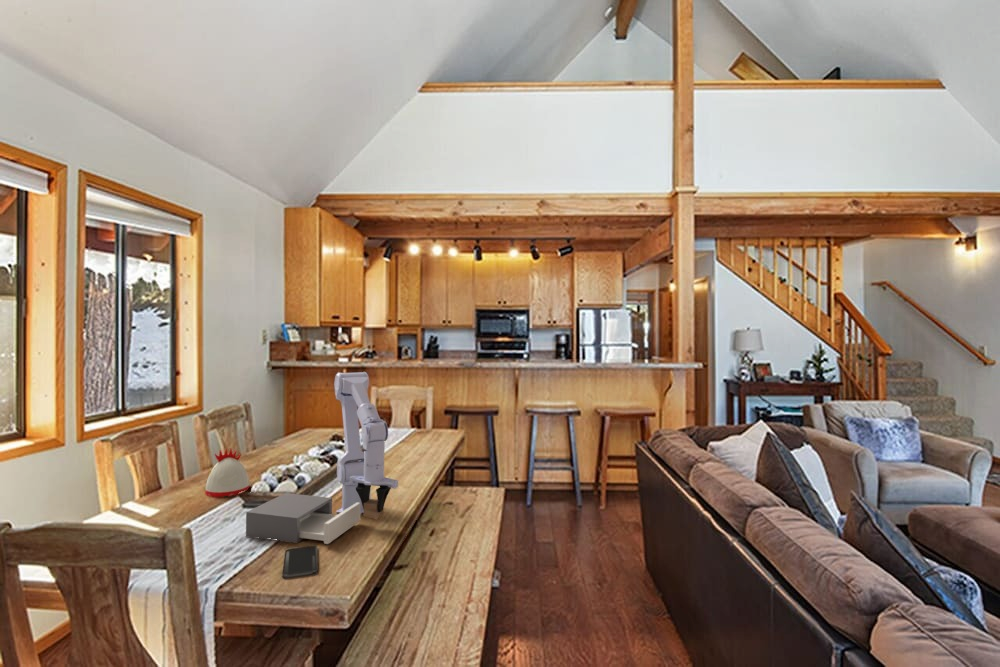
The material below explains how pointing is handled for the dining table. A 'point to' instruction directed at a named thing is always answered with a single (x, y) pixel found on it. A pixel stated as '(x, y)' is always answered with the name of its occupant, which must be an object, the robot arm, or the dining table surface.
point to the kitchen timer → (227, 476)
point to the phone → (300, 562)
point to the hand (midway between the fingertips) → (373, 510)
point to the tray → (328, 524)
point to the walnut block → (371, 509)
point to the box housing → (284, 516)
